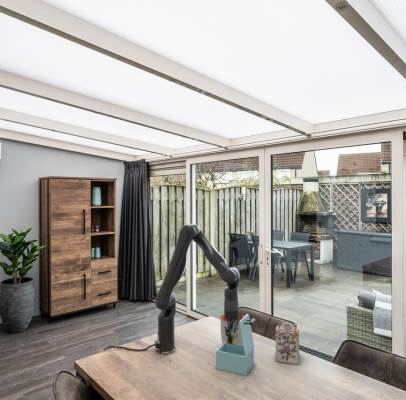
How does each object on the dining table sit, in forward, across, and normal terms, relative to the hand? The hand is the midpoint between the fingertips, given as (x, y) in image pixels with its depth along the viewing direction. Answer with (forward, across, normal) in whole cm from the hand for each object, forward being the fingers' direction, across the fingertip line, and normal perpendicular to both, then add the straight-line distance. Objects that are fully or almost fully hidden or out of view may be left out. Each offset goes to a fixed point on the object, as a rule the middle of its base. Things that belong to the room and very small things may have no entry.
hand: (232, 341), depth 167 cm
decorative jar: (+12, -20, +24) cm, 34 cm away
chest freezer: (+12, 0, +2) cm, 12 cm away
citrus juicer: (+13, -22, -7) cm, 26 cm away
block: (0, 0, 0) cm, 0 cm away
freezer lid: (-5, 0, +8) cm, 9 cm away
